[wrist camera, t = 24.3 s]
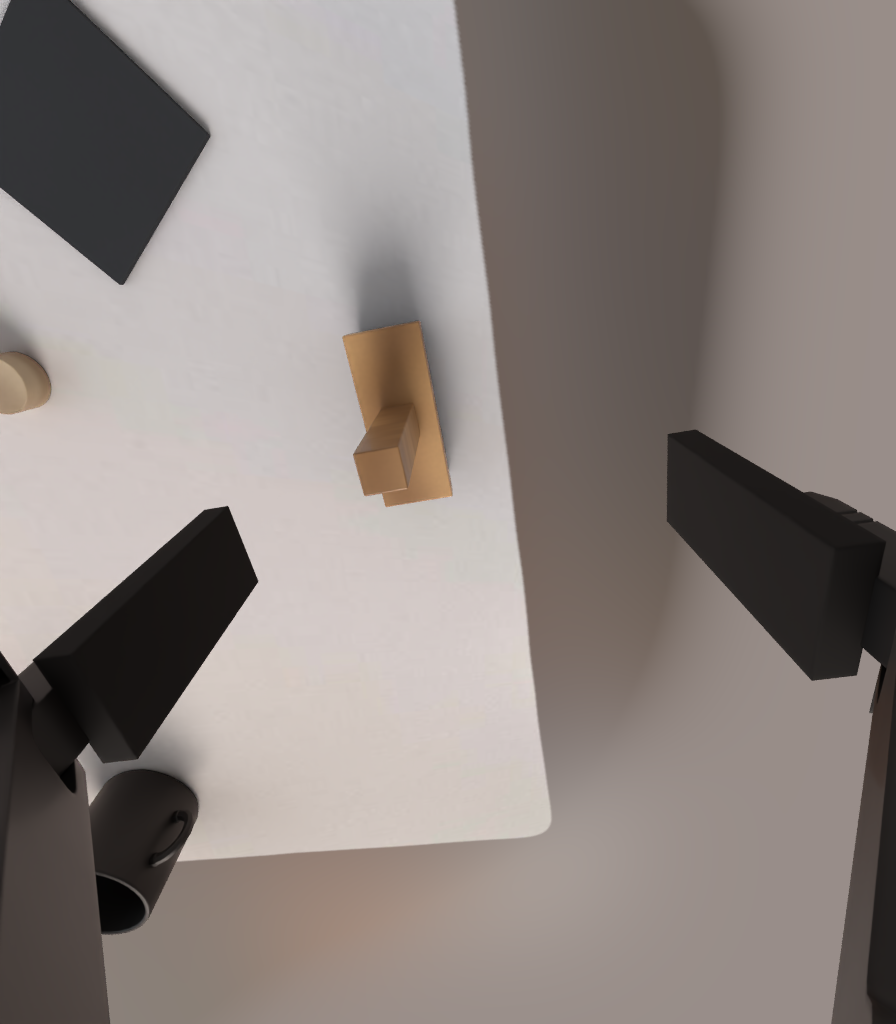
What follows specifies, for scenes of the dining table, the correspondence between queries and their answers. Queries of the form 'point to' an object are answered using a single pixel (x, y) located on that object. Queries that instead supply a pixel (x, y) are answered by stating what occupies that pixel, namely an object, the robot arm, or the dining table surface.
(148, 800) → the mug
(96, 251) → the mat
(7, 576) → the dining table surface
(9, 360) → the disc
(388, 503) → the wooden t-shaped block
